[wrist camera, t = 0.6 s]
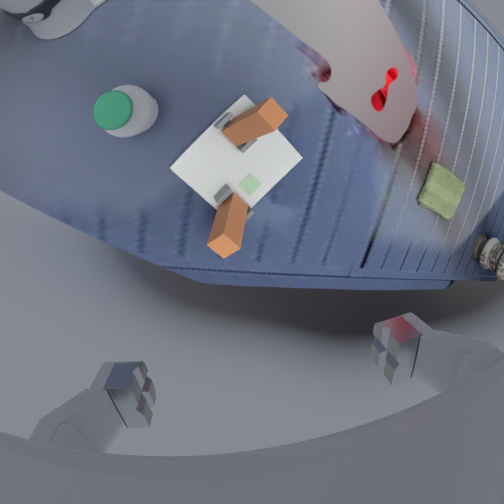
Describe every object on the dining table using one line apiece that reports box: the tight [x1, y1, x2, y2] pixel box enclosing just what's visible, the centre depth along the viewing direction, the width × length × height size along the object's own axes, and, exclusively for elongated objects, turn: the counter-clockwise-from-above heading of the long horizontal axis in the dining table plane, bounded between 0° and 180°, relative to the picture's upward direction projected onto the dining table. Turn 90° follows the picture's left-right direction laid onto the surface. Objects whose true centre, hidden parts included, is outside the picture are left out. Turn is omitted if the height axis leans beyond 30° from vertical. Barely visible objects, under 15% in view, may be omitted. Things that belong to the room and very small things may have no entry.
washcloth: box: [417, 162, 465, 220], centre depth 65 cm, size 13×18×3 cm
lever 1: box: [207, 192, 248, 258], centre depth 48 cm, size 4×4×12 cm
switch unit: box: [170, 94, 302, 222], centre depth 49 cm, size 16×18×6 cm
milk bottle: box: [93, 85, 158, 138], centre depth 34 cm, size 8×8×20 cm
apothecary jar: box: [473, 234, 504, 280], centre depth 74 cm, size 12×12×18 cm
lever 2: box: [221, 97, 288, 146], centre depth 41 cm, size 4×4×12 cm
